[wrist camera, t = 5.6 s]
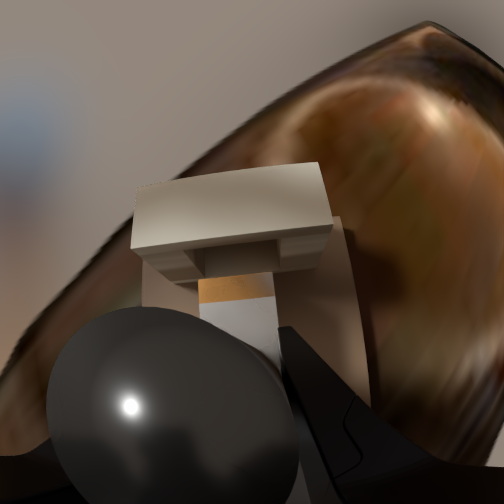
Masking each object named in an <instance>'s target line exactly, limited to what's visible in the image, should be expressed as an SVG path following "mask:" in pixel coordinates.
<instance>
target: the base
mask: <svg viewBox="0 0 504 504" xmlns="http://www.w3.org/2000/svg"><path fill="white" fill-rule="evenodd" d="M131 249H132V250H133V251H134V252H135V253H136V254H138V255H139V256H140V257H141V258H142V259H143V273H142V307H160V308H167V309H173V310H177V311H180V312H184V313H187V314H191V315H193V316H195V317H198V318H200V312H199V289H198V280H199V279H209V278H218V277H228V276H237V275H246V274H255V273H264V272H272V274H273V282H274V291H275V299H276V308H277V317H278V326H279V327H282V326H292V327H293V328H294V329H295V330H296V332H297V333H298V334H299V335H300V336H301V337H302V338H303V339H304V340H305V341H306V342H307V343H308V344H309V345H310V346H311V347H312V348H313V349H314V350H315V352H316V353H317V354H318V355H319V356H320V357H321V358H322V359H323V360H324V361H325V362H326V363H327V364H328V365H329V366H330V367H331V368H332V369H333V370H334V371H335V372H336V373H337V374H338V375H339V376H340V377H341V379H342V380H343V381H344V382H345V383H346V384H347V385H348V386H349V387H350V388H351V389H352V390H353V391H354V392H355V393H356V395H358V396H359V397H360V398H361V399H362V400H363V401H364V402H365V403H366V404H367V405H368V406H369V407H370V408H371V399H370V388H369V378H368V368H367V360H366V352H365V344H364V337H363V330H362V323H361V317H360V311H359V305H358V299H357V294H356V288H355V283H354V278H353V273H352V268H351V263H350V258H349V254H348V249H347V245H346V240H345V236H344V232H343V228H342V223H341V219H340V216H336V217H332V214H331V210H330V206H329V202H328V198H327V194H326V191H325V187H324V183H323V179H322V176H321V172H320V169H319V165H318V162H312V163H299V164H288V165H278V166H268V167H259V168H251V169H243V170H235V171H228V172H221V173H214V174H207V175H201V176H195V177H189V178H183V179H177V180H172V181H167V182H162V183H156V184H151V185H146V186H141V187H138V188H137V195H136V202H135V210H134V219H133V228H132V239H131ZM285 504H311V501H310V497H309V494H308V490H307V486H306V482H305V478H304V474H303V470H302V467H301V463H300V459H299V466H298V472H297V478H296V481H295V483H294V486H293V489H292V492H291V494H290V496H289V498H288V499H287V501H286V503H285Z"/></svg>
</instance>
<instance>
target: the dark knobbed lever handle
mask: <svg viewBox="0 0 504 504" xmlns="http://www.w3.org/2000/svg"><path fill="white" fill-rule="evenodd" d="M198 289H199V312H200V318H198V317H195V316H193V315H191V314H187V313H184V312H180V311H177V310H173V309H167V308H160V307H131V308H123V309H119V310H116V311H112V312H109V313H106V314H104V315H102V316H100V317H98V318H95V319H94V320H92V321H91V322H89V323H88V324H86V325H85V326H83V327H82V328H81V329H80V330H79V331H78V332H76V333H75V334H74V335H73V336H72V337H71V339H70V340H69V341H68V342H67V343H66V345H65V346H64V348H63V349H62V351H61V352H60V354H59V356H58V358H57V360H56V362H55V364H54V367H53V369H52V373H51V376H50V380H49V384H48V390H47V404H46V411H47V422H48V428H49V433H50V437H51V441H52V444H53V447H54V450H55V452H56V455H57V457H58V459H59V461H60V464H61V466H62V467H63V469H64V471H65V473H66V474H67V476H68V478H69V479H70V481H71V482H72V484H73V485H74V486H75V488H76V489H77V490H78V492H79V493H80V494H81V495H82V496H83V497H84V498H85V499H86V501H87V502H88V503H89V504H285V503H286V501H287V499H288V498H289V496H290V494H291V492H292V489H293V486H294V483H295V481H296V478H297V472H298V466H299V440H298V434H297V428H296V424H295V421H294V417H293V414H292V411H291V407H290V404H289V401H288V397H287V394H286V391H285V387H284V384H283V381H282V375H281V366H280V357H279V347H278V337H277V328H278V327H279V326H278V317H277V308H276V299H275V291H274V282H273V274H272V272H264V273H255V274H246V275H237V276H228V277H218V278H209V279H199V280H198Z"/></svg>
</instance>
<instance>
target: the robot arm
mask: <svg viewBox="0 0 504 504" xmlns="http://www.w3.org/2000/svg"><path fill="white" fill-rule="evenodd" d="M277 337H278V347H279V357H280V366H281V375H282V381H283V384H284V387H285V391H286V394H287V397H288V401H289V404H290V407H291V411H292V414H293V417H294V421H295V424H296V428H297V434H298V440H299V459H300V463H301V467H302V470H303V474H304V478H305V482H306V486H307V490H308V494H309V497H310V501H311V504H504V467H489V466H478V465H468V464H460V463H453V462H449V461H445V460H442V459H440V458H438V457H436V456H434V455H432V454H430V453H429V452H427V451H426V450H424V449H423V448H422V447H420V446H419V445H417V444H416V443H415V442H413V441H412V440H410V439H409V438H408V437H406V436H405V435H404V434H402V433H401V432H399V431H398V430H397V429H395V428H394V427H393V426H391V425H390V424H389V423H388V422H386V421H385V420H384V419H383V418H381V417H380V416H379V415H378V414H377V413H376V412H375V411H374V410H372V409H371V408H370V407H369V406H368V405H367V404H366V403H365V402H364V401H363V400H362V399H361V398H360V397H359V396H358V395H356V393H355V392H354V391H353V390H352V389H351V388H350V387H349V386H348V385H347V384H346V383H345V382H344V381H343V380H342V379H341V377H340V376H339V375H338V374H337V373H336V372H335V371H334V370H333V369H332V368H331V367H330V366H329V365H328V364H327V363H326V362H325V361H324V360H323V359H322V358H321V357H320V356H319V355H318V354H317V353H316V352H315V350H314V349H313V348H312V347H311V346H310V345H309V344H308V343H307V342H306V341H305V340H304V339H303V338H302V337H301V336H300V335H299V334H298V333H297V332H296V330H295V329H294V328H293V327H292V326H282V327H278V328H277ZM0 504H89V503H88V502H87V501H86V499H85V498H84V497H83V496H82V495H81V494H80V493H79V492H78V490H77V489H76V488H75V486H74V485H73V484H72V482H71V481H70V479H69V478H68V476H67V474H66V473H65V471H64V469H63V467H62V466H61V464H60V461H59V459H58V457H57V455H56V452H55V450H54V447H53V444H52V441H51V437H50V438H49V439H47V440H46V441H44V442H43V443H42V444H40V445H39V446H37V447H36V448H35V449H33V450H31V451H29V452H27V453H25V454H21V455H15V456H0Z"/></svg>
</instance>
